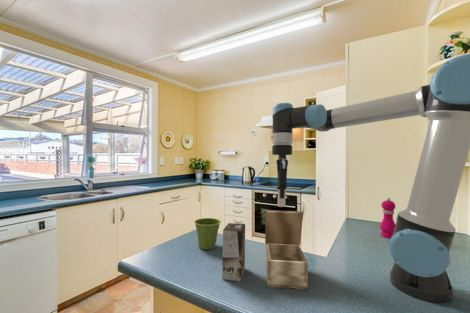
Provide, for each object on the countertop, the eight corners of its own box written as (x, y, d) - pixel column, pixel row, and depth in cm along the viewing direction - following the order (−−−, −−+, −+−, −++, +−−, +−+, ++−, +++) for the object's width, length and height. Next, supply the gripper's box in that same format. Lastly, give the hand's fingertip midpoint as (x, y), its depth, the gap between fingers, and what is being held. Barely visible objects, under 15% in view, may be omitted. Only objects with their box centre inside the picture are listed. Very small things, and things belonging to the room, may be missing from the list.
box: (298, 267, 83) (299, 245, 83) (307, 289, 69) (307, 263, 69) (265, 265, 84) (265, 243, 84) (267, 287, 70) (267, 261, 70)
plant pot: (214, 253, 94) (214, 226, 94) (188, 249, 98) (189, 223, 98) (224, 243, 105) (224, 219, 105) (201, 240, 109) (201, 216, 109)
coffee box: (241, 281, 73) (241, 231, 73) (221, 279, 74) (222, 229, 74) (245, 268, 82) (245, 223, 82) (228, 266, 83) (228, 222, 83)
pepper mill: (380, 233, 122) (380, 195, 122) (396, 236, 118) (397, 197, 118) (379, 237, 116) (379, 197, 116) (396, 240, 112) (397, 199, 112)
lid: (299, 245, 83) (299, 243, 84) (303, 213, 77) (302, 211, 78) (265, 243, 84) (265, 241, 85) (266, 212, 78) (266, 210, 79)
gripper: (271, 145, 94) (270, 202, 94) (273, 143, 81) (272, 209, 81) (289, 145, 94) (289, 203, 94) (295, 143, 81) (294, 210, 81)
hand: (281, 206), depth 87 cm, fingers closed
